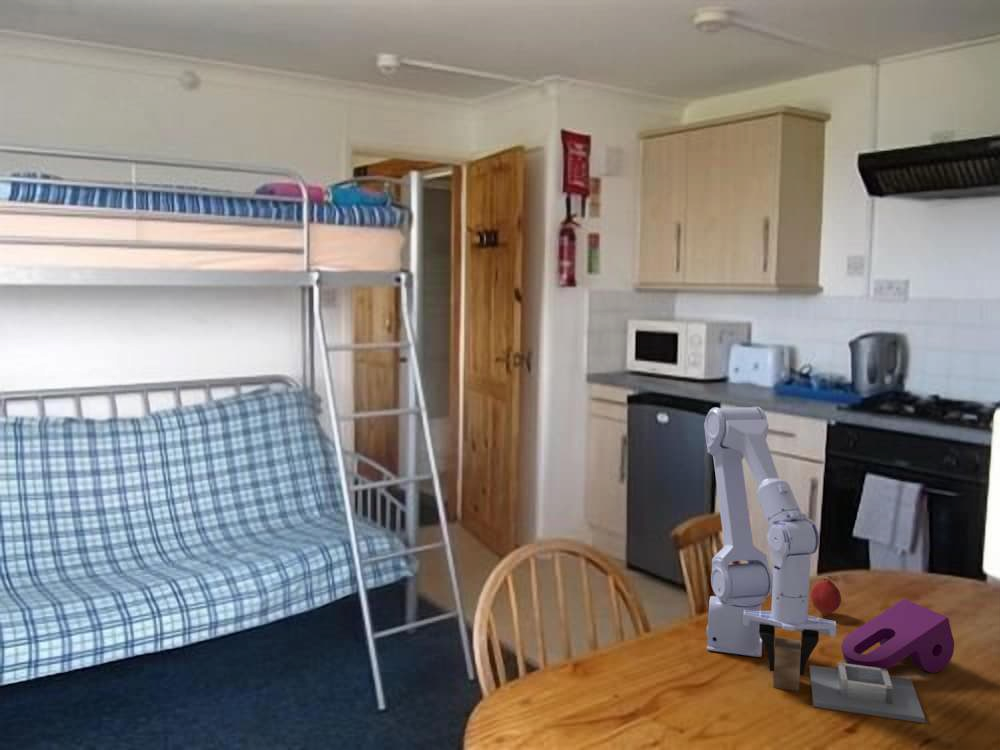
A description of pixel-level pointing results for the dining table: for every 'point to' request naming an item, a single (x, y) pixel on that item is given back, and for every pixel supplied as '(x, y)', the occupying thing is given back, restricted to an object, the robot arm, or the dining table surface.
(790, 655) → the walnut peg
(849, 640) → the mounting bracket
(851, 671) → the socket board
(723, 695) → the dining table surface
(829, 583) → the onion
